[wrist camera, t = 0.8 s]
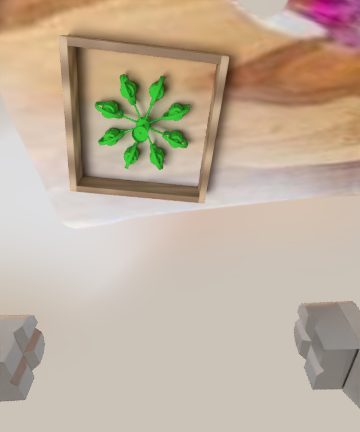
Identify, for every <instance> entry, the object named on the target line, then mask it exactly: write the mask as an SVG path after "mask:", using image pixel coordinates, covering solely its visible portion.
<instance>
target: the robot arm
mask: <svg viewBox="0 0 360 432" xmlns="http://www.w3.org/2000/svg"><path fill="white" fill-rule="evenodd" d="M298 314H299V317H300V319H298V320H297V321H296V323H295V327H294V336H295V342H296V346H297V349H298V352H299V354H300V355H301V356H303V357H304V358H305V359H306V363H305V367H304V368H305V371H306V373H307V376H308V379H309V381H310V384H311V387H312V389H343V392H344V393H345V394H346V395H347V396H348V397H349V398H350V399H351V400H352V401H353V402H354V403H355V404H356V405H357V406H358V407H359V408H360V310H359V308H358V307H357V305H356V304H355V303H354V302H352V301H346V302H322V303H304V304H303V303H302V304H301V305H300V306H299V308H298ZM37 323H38V322H37V320H36V318H35V317H34V315H5V316H3V315H1V316H0V401H15V400H25V399H26V397H27V394H28V392H29V390H30V387H31V384H32V382H33V380H34V375H33V372H32V370H33V369H34V368H36V367H37V366H38V365H39V364H40V362H41V359H42V356H43V353H44V346H45V343H44V337H43V334H42V332H41V331H39V330H38V329H36V328H35V327H36V325H37Z"/></svg>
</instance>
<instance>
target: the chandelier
mask: <svg viewBox="0 0 360 432" xmlns="http://www.w3.org/2000/svg"><path fill="white" fill-rule="evenodd" d="M163 79H164V77H163V76H161V77H160V79H159V82H155V83H153V84H152V85H151V86H150V91H149V93H150V96H151V97H152V100H151V102H150V107H149V110H148V112H147V115H146V117H140V114H139V112H138V110H137V107H136V105H135V104H136V99H135V93H136V90H137V89H136V85H135V84H134V83H133V82H132V81H128V79H127V77H126V76H125V75H124V74H123V75H120V81H121V85H122V86H121V89H120V91H121V94H122V96H123V97H125V98H127V99H128V101H129V102H130V104H131V105H134V107H135V109H136V111H137V114H138V116H139V119H138V120H137V121H135V120H133V119H130V118H128V117H126V116H124V113H123V112H122V111H121V110H120V109H118V106H117V105H116V103H114V102H113V101H108V102H106V103H104V102H96V104H95V108H96V109H97V110H98V111H100V112H101V113H102V115H103V116H104V117H106V118H122V117H124V118H126V119H129V120H131V121H133V122H135V123H136V127H135V128H132V129H130V130H127V131H123V130H118V131H117V130H116V129H114V128H112V129H109V130H107V131H106V133H105V135H104V137H102V138H101V139H100V140H99V141H98V142H99V144H100V145H105V144H107V145H110V146H112V145H114V144H116V143H117V141H118V139H119V138H121V137H122V136H123V135H124V134H125V133H126V132H129V131H132V130H133V131H132V136H133V138H134V140H136V143H134V145H133V147H129V148H127V150H126V151H125V153H124V160H125V162H126V166H125V168H127V169H128V167H129V165H130V164H133V163H134V162H136V160H137V158H138V154H139V153H138V150H137V149H136V147H137V142H144V141H145V140H146V139H147V138H148V139H149V142H150V144H151V145H150V149H151V153H150V160H151V162H152V163H153V164H154V165H156V166H157V168H158V169H159V170H161V169H163V163H162V161H163V158H164V154H163V151H162V149H160V148H158V149H157V147H156V145H155V144H154V143H153V144H152V142H151V140H150V138H149V135H148V130H149V129H151V130H153V131H155V132H158V133H160V134H162V136H163V138H164V139H165V140H166V141H168V142H169V144H170V145H171V146H172V147H174V148H177V147H181V148H187V146H188V142H187V141H186V140H185V139H184V138H182V135H181V133H180V132H179V131H172V132H167V131H165V132H164V133H162V132H159V131H157V130H155V129H153V128H150V127H151V123H153V122H155V121H158V120H160V119H164V120H171V119H172V120H174V121H178V120H180V119H182V117H183V115H184V114H185V113H187V112H188V111H189V110H190V107H189V105H184V106H181V105H180V104H177V103H176V104H173V105H171V107H170V108H169V111H168V112H166V113H165V114H164V115H163V117H161V118H158V119H156V120H153V121H149V119H147V117H148V114H149V112H150V109H151V107H152V106H153V104H154V102H155V100H156V99H160V98H162V96H163V95H164V90H165V89H164V86H163V85H162V82H163ZM124 80H125V82H124ZM131 97H132V99H131ZM98 105H102V108H100V107H99V106H98ZM183 109H185V110H183ZM117 112H118V113H119V114H120V115H117ZM168 115H170V116H168ZM115 132H116V133H115ZM119 133H120V134H119ZM166 135H169V138H168V137H167V136H166ZM182 142H183V143H185V145H183V144H181V143H182ZM159 164H160V165H159Z"/></svg>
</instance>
